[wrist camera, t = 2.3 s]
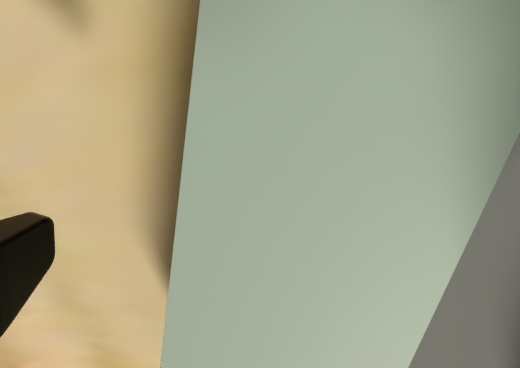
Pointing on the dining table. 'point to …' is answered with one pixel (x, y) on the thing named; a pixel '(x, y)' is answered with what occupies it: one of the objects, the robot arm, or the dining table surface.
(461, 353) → the grey flat rectangular slab
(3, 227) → the robot arm
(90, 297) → the dining table surface
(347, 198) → the beam
